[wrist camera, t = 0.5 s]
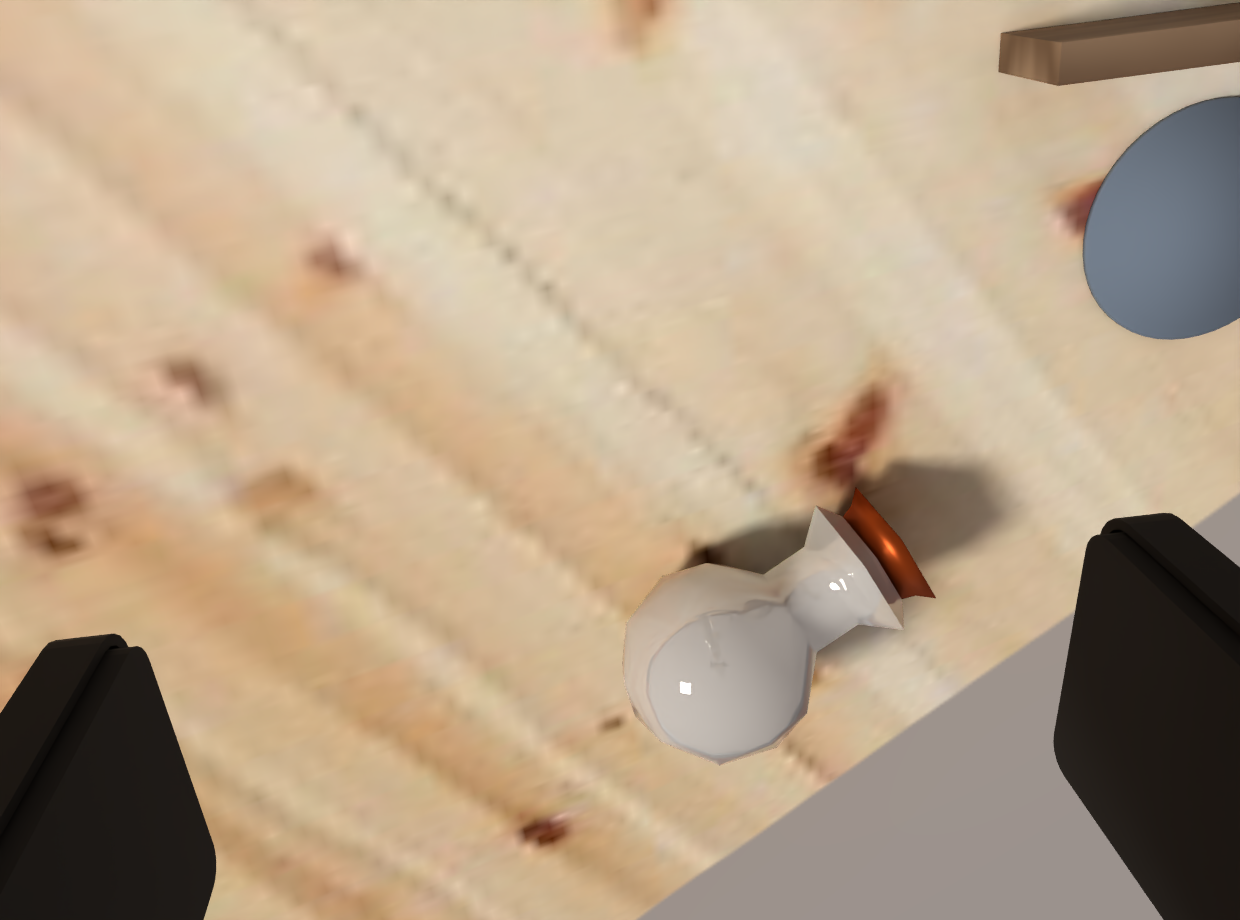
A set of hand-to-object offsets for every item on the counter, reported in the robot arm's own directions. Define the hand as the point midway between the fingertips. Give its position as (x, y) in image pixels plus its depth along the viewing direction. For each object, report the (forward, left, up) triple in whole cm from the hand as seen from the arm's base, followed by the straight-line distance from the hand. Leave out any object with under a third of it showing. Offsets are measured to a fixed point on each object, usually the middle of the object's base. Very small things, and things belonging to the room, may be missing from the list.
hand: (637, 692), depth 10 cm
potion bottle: (+23, +8, -35) cm, 43 cm away
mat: (+8, +30, -35) cm, 46 cm away
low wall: (-1, +30, -35) cm, 46 cm away
